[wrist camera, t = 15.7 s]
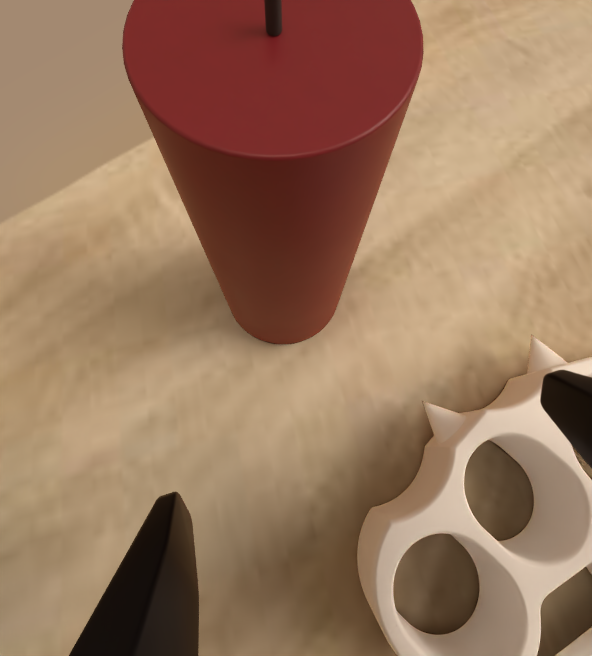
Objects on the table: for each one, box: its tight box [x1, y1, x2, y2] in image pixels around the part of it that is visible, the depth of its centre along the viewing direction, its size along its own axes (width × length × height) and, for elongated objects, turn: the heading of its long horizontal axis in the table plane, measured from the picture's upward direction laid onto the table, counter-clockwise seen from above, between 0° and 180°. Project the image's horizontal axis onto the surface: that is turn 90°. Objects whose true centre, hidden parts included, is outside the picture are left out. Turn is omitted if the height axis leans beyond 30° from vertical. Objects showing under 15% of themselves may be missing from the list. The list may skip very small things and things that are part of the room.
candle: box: [122, 0, 423, 344], centre depth 13 cm, size 6×6×14 cm
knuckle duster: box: [357, 334, 592, 656], centre depth 15 cm, size 3×18×15 cm
